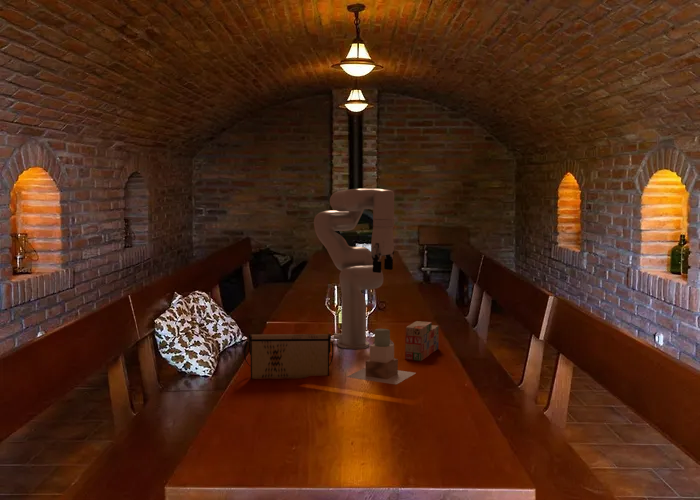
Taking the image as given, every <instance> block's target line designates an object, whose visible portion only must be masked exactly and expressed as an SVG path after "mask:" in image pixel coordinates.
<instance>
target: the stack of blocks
mask: <svg viewBox="0 0 700 500" xmlns="http://www.w3.org/2000/svg"><path fill="white" fill-rule="evenodd" d="M439 336H440V333H439V325H435V324H432V321H420V320H419V321H418V320H416V321H414V322H412V323H411V324H409V325H407V326H406V327H405V339H404V340H405V350H404V352H405V353H404V354H405V356H404V359H405V360H408V359H409V361H418V362H419V361H420V362H422V361H423V360H425V359H426V358H428V357H429V356H430V355H431V354H433V353H435V352H436V351H437V350H439V341H440V340H439Z"/></svg>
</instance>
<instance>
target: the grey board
mask: <svg viewBox="0 0 700 500" xmlns="http://www.w3.org/2000/svg"><path fill="white" fill-rule="evenodd" d="M365 371H366V366H365V367H363V368H360V369H358V370H357V371H355V372H353V373H351V374H350V375H347V376H346V378H350V379H351V378H352V379H357V380H363V381H364V380H365V381H370V382H375V383H376V382H377V383H382V384H389V385H398V384H401V383H402V382H403V381H405V380H407V379H409V378H410V377H412V376H414V375H415V374H417V372H413V371H405V370H399V369H398V374H396V375H394V376H393V377H391V378H389V379H382V378H375V377H369V376H365Z"/></svg>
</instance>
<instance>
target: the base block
mask: <svg viewBox="0 0 700 500" xmlns="http://www.w3.org/2000/svg"><path fill="white" fill-rule="evenodd" d="M365 367H366V371H365V376H369V377H375V378H382V379H389V378H391V377H393V376H394V375H396V374H398V370H399V359H398V358H395V357H394V359H393V360H391V361H390V362H388V363H381V362H374V361H370V358H369V359H367V360H365Z"/></svg>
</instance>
